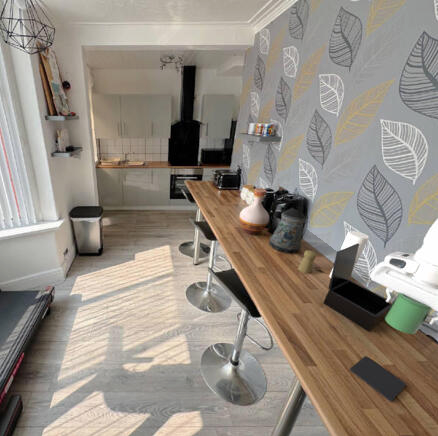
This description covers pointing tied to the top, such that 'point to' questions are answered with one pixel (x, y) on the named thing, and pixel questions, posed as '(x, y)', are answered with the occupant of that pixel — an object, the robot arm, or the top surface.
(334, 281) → the bin lid
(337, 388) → the top surface
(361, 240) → the cylindrical container
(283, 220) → the beer stein
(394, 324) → the pot
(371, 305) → the bin
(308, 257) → the cork
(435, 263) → the robot arm
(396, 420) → the top surface
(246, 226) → the white vase
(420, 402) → the top surface
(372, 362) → the mat
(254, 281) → the top surface
